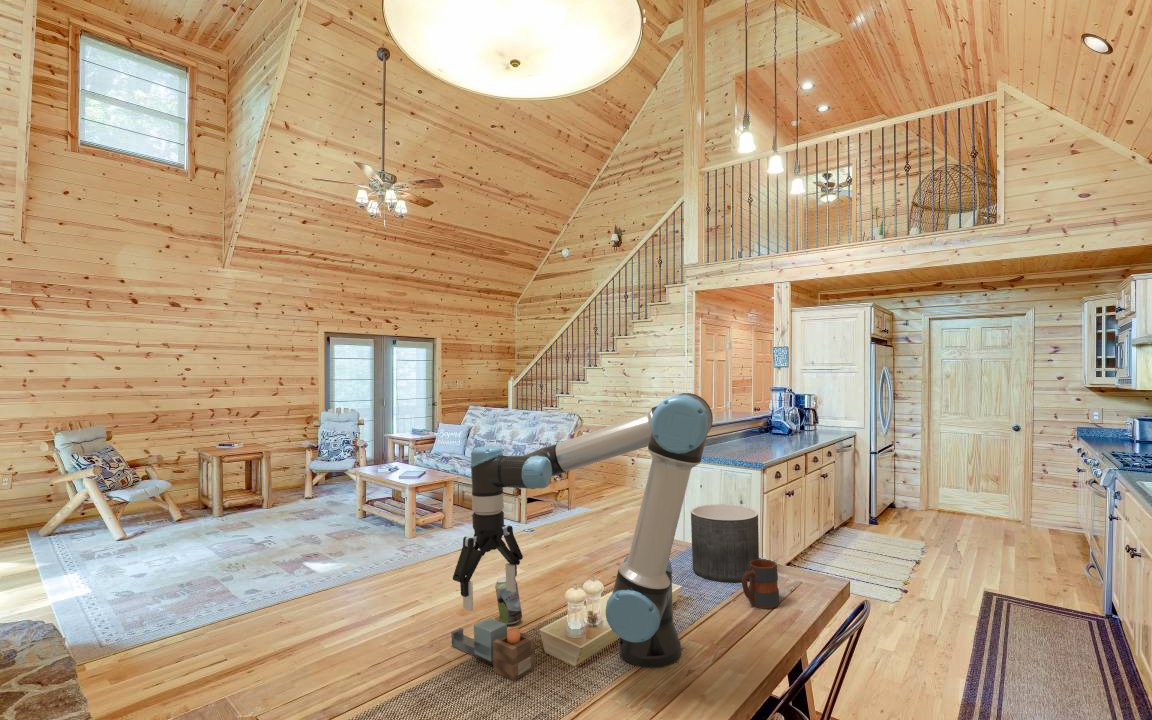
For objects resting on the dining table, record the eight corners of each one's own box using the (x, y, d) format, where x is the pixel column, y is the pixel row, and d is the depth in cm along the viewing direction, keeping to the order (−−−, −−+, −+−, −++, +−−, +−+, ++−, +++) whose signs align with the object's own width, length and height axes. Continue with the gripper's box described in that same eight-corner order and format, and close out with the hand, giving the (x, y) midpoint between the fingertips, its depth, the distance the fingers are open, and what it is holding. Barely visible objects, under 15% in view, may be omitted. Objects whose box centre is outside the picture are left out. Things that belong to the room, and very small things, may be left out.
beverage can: (518, 627, 155) (517, 583, 155) (492, 626, 156) (491, 581, 156) (525, 617, 161) (524, 574, 161) (500, 616, 162) (499, 573, 163)
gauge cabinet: (535, 668, 133) (535, 638, 133) (513, 681, 128) (513, 649, 128) (515, 659, 138) (514, 630, 138) (493, 671, 132) (493, 641, 132)
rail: (509, 663, 136) (509, 648, 136) (500, 668, 134) (499, 653, 134) (461, 641, 148) (460, 627, 148) (451, 645, 145) (451, 631, 145)
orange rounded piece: (523, 645, 133) (522, 630, 133) (513, 650, 131) (513, 635, 131) (514, 641, 135) (513, 626, 135) (504, 646, 133) (504, 631, 133)
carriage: (507, 652, 138) (506, 624, 138) (491, 661, 134) (490, 632, 134) (490, 645, 142) (490, 617, 142) (474, 653, 138) (473, 625, 138)
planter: (757, 562, 203) (755, 505, 203) (762, 585, 181) (760, 521, 182) (693, 558, 208) (691, 503, 208) (691, 581, 186) (689, 518, 187)
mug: (733, 603, 168) (732, 563, 168) (764, 595, 173) (763, 556, 173) (753, 614, 160) (752, 572, 160) (786, 606, 165) (785, 565, 165)
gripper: (514, 499, 151) (516, 580, 150) (435, 520, 131) (438, 613, 131) (535, 503, 146) (537, 587, 145) (456, 525, 127) (458, 622, 126)
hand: (490, 599), depth 138 cm, fingers open, 13 cm apart
